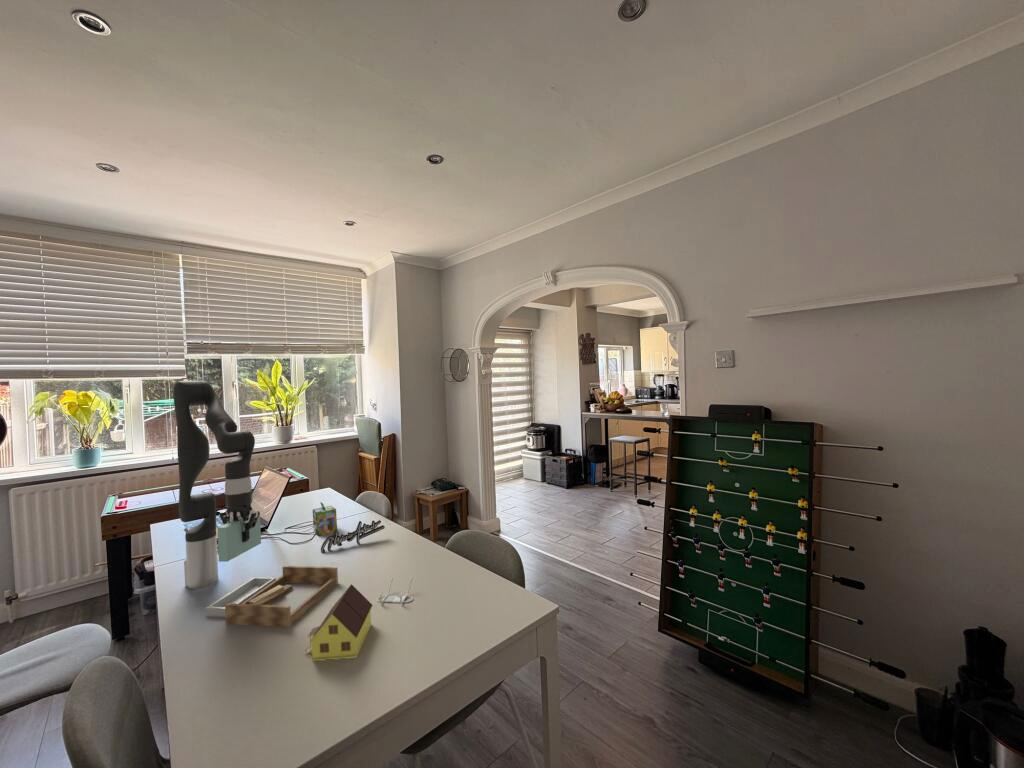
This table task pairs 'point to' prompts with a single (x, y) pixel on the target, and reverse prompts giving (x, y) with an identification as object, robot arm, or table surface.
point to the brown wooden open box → (278, 613)
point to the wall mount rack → (395, 598)
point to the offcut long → (286, 589)
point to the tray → (238, 595)
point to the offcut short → (267, 595)
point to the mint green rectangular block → (236, 540)
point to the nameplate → (352, 535)
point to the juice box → (324, 520)
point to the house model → (342, 628)
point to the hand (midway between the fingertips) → (240, 541)
